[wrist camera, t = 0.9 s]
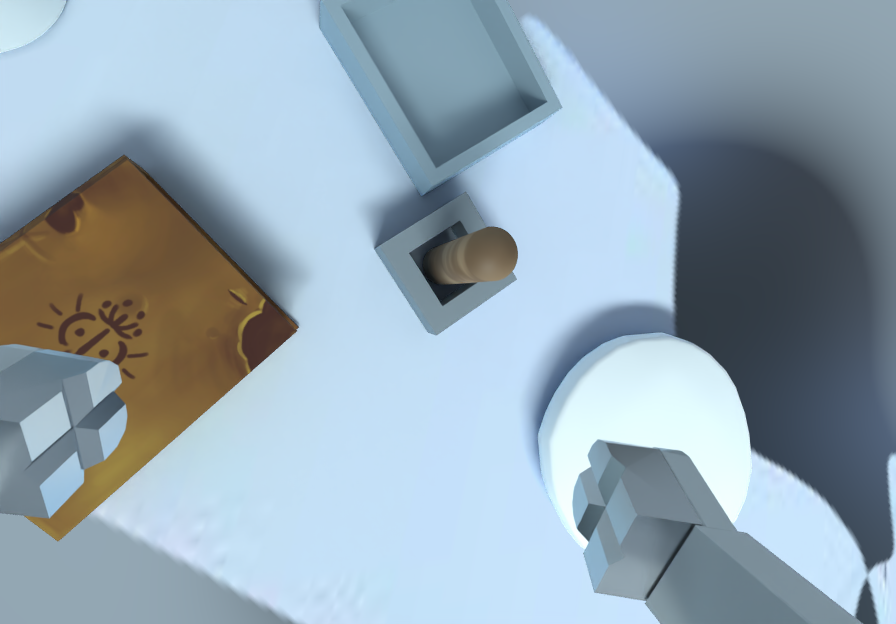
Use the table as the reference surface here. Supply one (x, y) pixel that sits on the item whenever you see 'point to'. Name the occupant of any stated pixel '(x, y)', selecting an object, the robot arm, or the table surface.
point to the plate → (646, 416)
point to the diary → (135, 313)
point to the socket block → (412, 281)
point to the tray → (440, 78)
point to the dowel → (472, 258)
